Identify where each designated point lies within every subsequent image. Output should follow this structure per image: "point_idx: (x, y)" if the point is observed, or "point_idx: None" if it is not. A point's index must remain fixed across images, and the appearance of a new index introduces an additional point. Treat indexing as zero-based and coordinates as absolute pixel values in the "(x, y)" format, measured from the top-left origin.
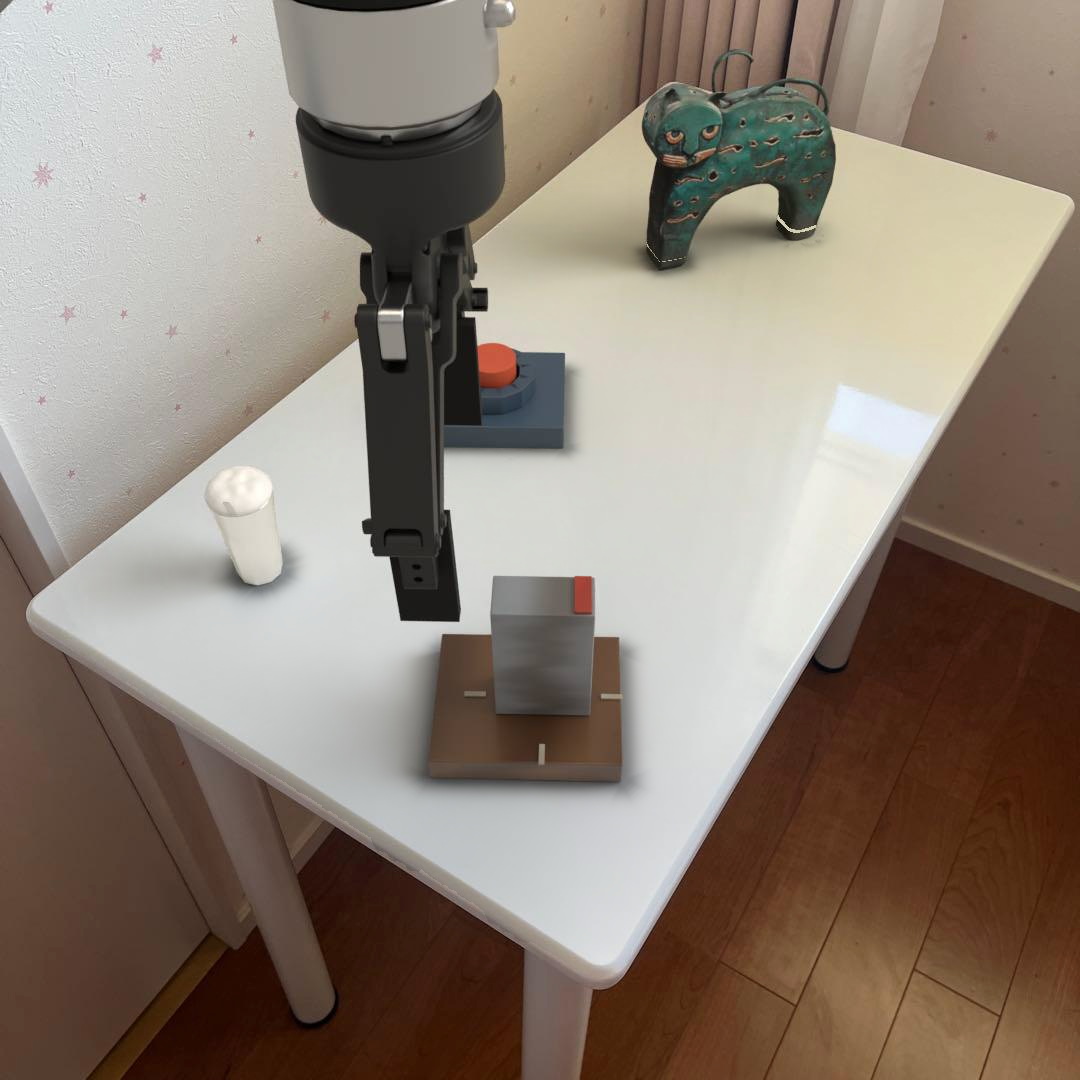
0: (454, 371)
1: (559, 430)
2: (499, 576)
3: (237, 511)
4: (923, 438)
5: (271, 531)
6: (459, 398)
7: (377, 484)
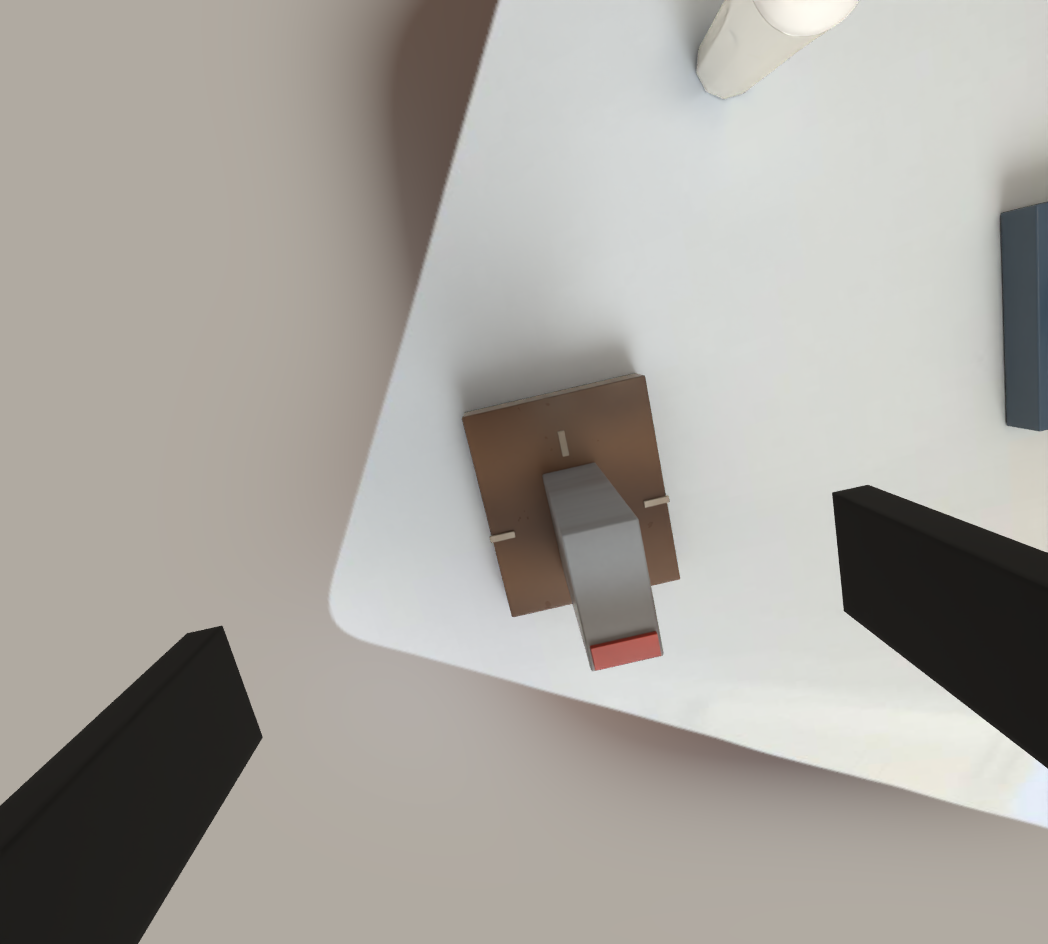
0: (978, 649)
1: (1035, 425)
2: (638, 527)
3: None
4: (1044, 822)
5: (759, 62)
6: (898, 604)
7: None
